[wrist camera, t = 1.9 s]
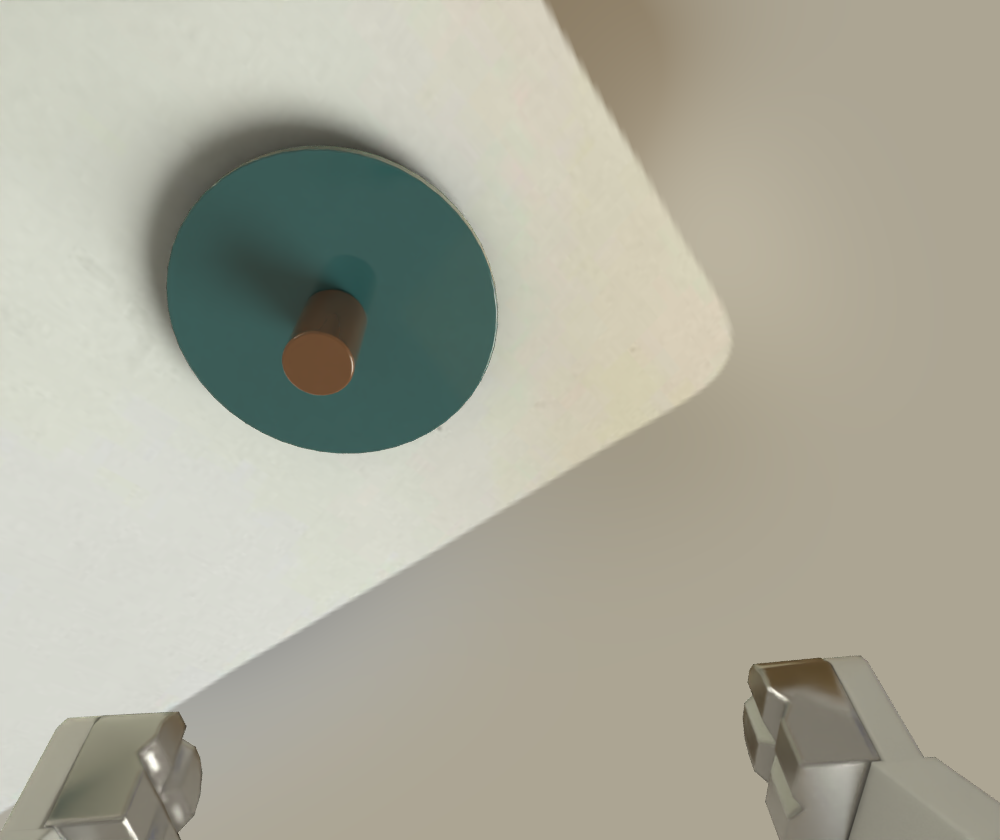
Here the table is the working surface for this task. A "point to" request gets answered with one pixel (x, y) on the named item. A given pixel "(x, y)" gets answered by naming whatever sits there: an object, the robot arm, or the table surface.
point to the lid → (332, 299)
